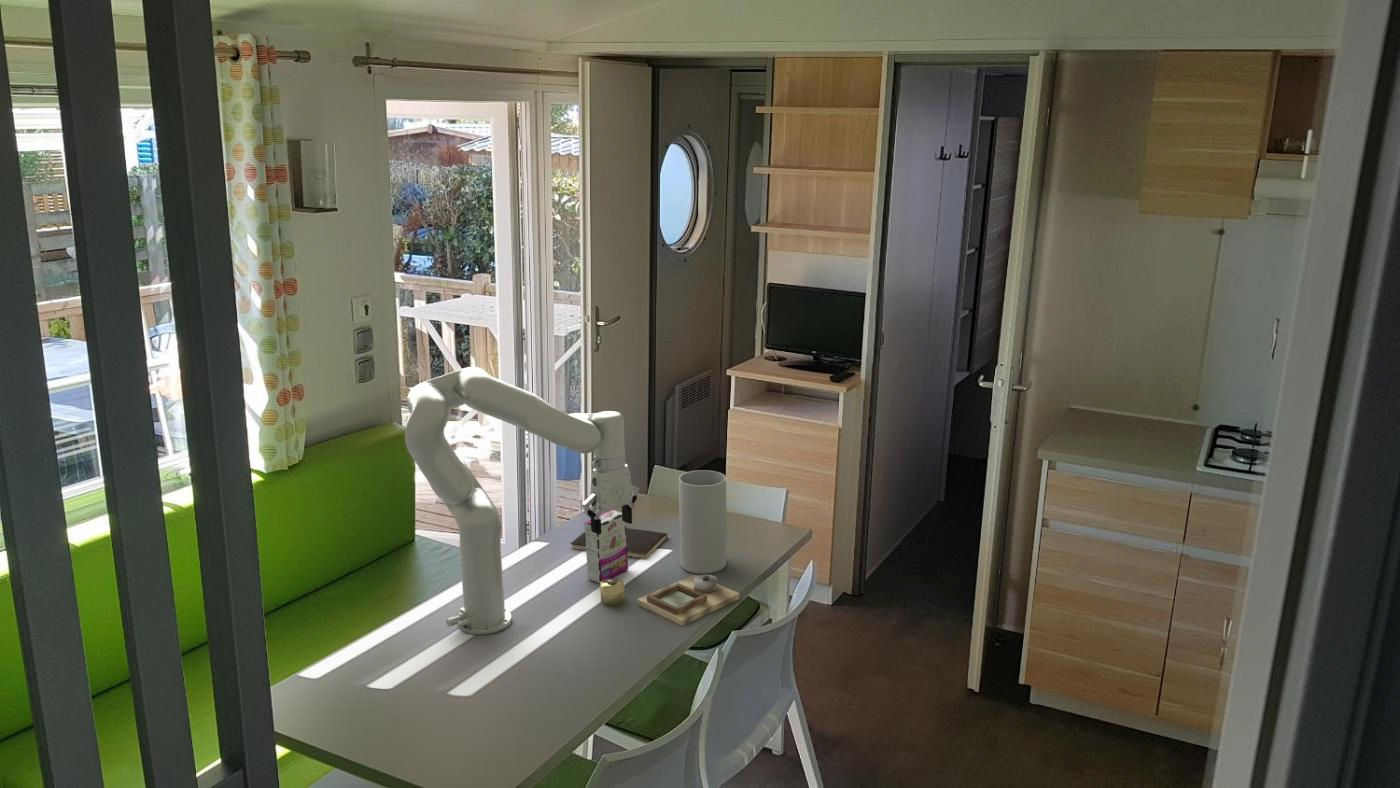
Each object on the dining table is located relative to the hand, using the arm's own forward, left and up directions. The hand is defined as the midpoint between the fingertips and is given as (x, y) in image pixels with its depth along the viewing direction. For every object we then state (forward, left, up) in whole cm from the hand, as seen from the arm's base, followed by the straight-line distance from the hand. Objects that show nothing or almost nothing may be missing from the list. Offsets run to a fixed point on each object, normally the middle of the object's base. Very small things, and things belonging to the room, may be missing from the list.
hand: (612, 527), depth 256 cm
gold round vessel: (-1, -1, -19) cm, 19 cm away
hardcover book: (+24, +26, -20) cm, 40 cm away
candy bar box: (+8, +12, -19) cm, 24 cm away
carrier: (+12, -15, -19) cm, 27 cm away
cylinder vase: (+30, -2, -19) cm, 35 cm away
